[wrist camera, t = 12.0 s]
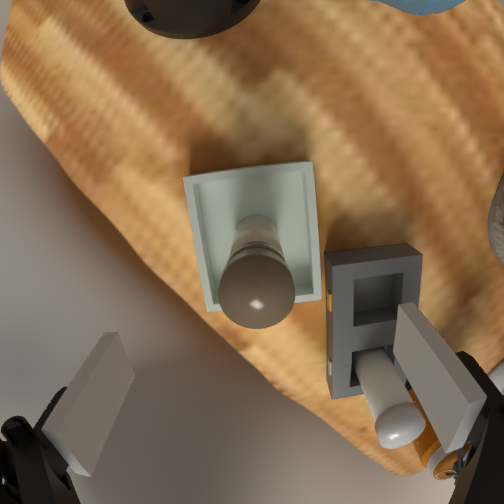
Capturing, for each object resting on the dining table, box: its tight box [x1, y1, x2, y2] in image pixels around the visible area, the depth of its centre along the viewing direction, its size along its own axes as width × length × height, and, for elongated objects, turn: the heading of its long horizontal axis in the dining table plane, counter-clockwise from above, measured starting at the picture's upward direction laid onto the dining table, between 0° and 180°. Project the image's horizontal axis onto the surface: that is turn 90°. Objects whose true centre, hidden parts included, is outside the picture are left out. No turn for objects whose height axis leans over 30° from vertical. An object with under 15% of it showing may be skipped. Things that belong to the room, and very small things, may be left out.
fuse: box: [351, 346, 426, 449], centre depth 31 cm, size 5×5×14 cm
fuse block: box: [324, 243, 423, 400], centre depth 35 cm, size 18×10×4 cm, turn 7°
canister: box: [405, 381, 472, 486], centre depth 31 cm, size 9×11×20 cm
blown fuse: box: [218, 214, 295, 329], centre depth 27 cm, size 5×5×14 cm
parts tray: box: [183, 160, 322, 312], centre depth 32 cm, size 14×12×3 cm
